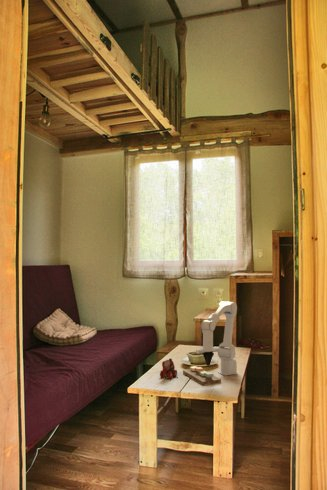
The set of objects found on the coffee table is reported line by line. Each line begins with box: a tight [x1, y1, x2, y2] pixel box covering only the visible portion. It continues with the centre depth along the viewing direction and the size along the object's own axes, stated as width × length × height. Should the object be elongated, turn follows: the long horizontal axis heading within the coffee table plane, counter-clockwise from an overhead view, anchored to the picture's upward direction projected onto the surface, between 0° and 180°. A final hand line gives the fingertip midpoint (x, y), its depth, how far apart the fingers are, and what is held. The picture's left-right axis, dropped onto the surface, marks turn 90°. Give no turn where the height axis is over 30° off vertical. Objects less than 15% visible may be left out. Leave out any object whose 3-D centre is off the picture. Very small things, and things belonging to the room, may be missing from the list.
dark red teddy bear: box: [159, 357, 178, 380], centre depth 238 cm, size 7×12×10 cm, turn 147°
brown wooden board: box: [182, 368, 222, 386], centre depth 236 cm, size 12×25×2 cm, turn 23°
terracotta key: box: [195, 366, 204, 374], centre depth 239 cm, size 4×4×4 cm
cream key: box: [189, 365, 197, 372], centre depth 245 cm, size 4×4×4 cm
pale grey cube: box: [204, 371, 214, 380], centre depth 228 cm, size 4×4×4 cm
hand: (208, 365), depth 229 cm, fingers closed
